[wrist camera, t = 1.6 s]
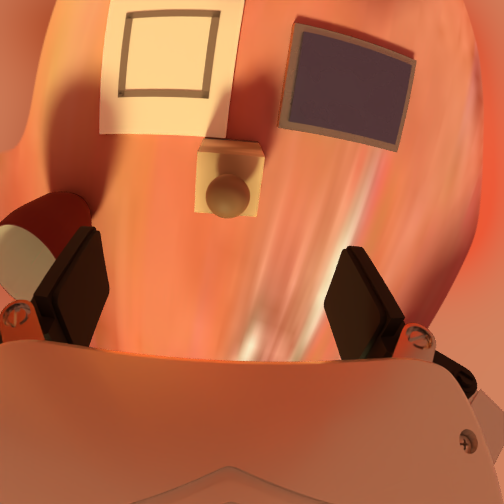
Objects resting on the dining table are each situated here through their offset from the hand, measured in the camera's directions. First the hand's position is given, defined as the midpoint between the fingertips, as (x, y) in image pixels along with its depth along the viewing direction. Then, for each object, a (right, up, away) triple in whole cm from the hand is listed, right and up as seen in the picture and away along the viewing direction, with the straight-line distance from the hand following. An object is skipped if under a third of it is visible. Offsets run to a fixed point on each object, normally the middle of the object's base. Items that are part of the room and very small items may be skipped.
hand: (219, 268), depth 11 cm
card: (-5, +16, +8) cm, 19 cm away
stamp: (-1, +8, +14) cm, 16 cm away
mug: (-16, +4, +15) cm, 23 cm away
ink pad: (+9, +14, +10) cm, 20 cm away
